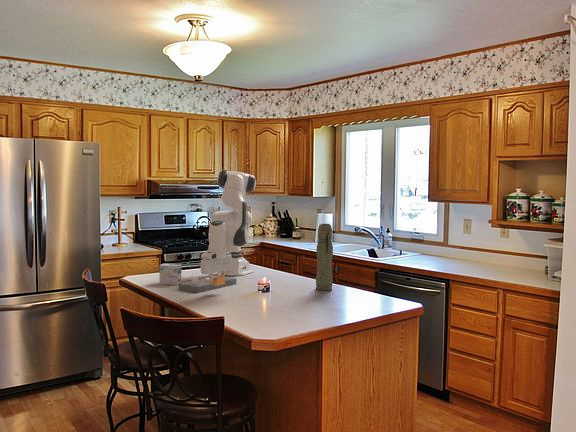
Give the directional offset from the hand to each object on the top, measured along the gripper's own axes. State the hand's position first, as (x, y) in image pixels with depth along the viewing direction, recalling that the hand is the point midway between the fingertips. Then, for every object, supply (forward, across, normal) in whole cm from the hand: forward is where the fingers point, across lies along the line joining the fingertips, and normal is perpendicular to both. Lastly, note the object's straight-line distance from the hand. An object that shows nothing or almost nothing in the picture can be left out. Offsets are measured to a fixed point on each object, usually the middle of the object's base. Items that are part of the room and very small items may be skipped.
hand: (217, 280), depth 265 cm
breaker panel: (+7, -11, -16) cm, 21 cm away
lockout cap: (+2, 0, 0) cm, 2 cm away
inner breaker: (+4, -21, -17) cm, 27 cm away
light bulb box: (+8, -4, -38) cm, 39 cm away
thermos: (+7, -44, +36) cm, 58 cm away
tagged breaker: (+7, -11, -16) cm, 21 cm away
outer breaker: (+4, -1, -16) cm, 17 cm away
